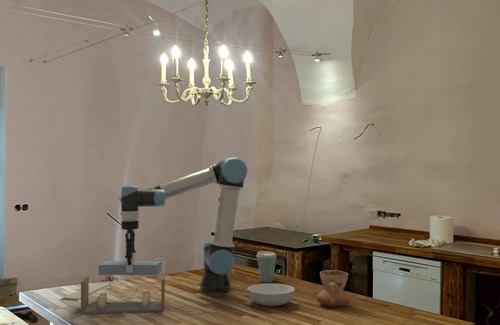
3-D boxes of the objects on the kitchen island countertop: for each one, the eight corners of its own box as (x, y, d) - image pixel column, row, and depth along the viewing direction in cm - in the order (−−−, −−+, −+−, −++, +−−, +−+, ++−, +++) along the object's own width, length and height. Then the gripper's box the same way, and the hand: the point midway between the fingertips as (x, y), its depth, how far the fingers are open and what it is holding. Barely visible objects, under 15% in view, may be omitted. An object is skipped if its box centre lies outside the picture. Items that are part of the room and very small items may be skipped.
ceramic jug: (348, 311, 215) (349, 277, 215) (314, 308, 219) (314, 274, 219) (351, 301, 232) (352, 270, 233) (319, 298, 236) (320, 267, 236)
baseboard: (57, 300, 232) (77, 302, 230) (57, 294, 232) (78, 295, 230) (91, 285, 261) (110, 286, 259) (91, 279, 261) (110, 280, 259)
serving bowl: (299, 300, 233) (299, 284, 233) (287, 312, 213) (287, 295, 213) (256, 296, 240) (256, 281, 240) (240, 307, 220) (240, 291, 220)
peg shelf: (85, 306, 221) (85, 275, 221) (164, 303, 226) (164, 273, 226) (80, 314, 209) (80, 282, 209) (164, 311, 214) (164, 279, 214)
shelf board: (105, 270, 237) (105, 260, 237) (161, 270, 235) (161, 261, 235) (98, 274, 228) (98, 264, 228) (156, 275, 226) (156, 265, 226)
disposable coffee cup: (280, 280, 272) (280, 252, 272) (267, 284, 264) (268, 254, 264) (265, 277, 279) (265, 250, 279) (252, 281, 270) (252, 252, 271)
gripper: (123, 217, 242) (124, 265, 242) (118, 223, 220) (119, 275, 220) (140, 217, 243) (140, 264, 243) (136, 222, 221) (137, 274, 221)
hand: (130, 269), depth 231 cm, fingers closed on shelf board, 10 cm apart
